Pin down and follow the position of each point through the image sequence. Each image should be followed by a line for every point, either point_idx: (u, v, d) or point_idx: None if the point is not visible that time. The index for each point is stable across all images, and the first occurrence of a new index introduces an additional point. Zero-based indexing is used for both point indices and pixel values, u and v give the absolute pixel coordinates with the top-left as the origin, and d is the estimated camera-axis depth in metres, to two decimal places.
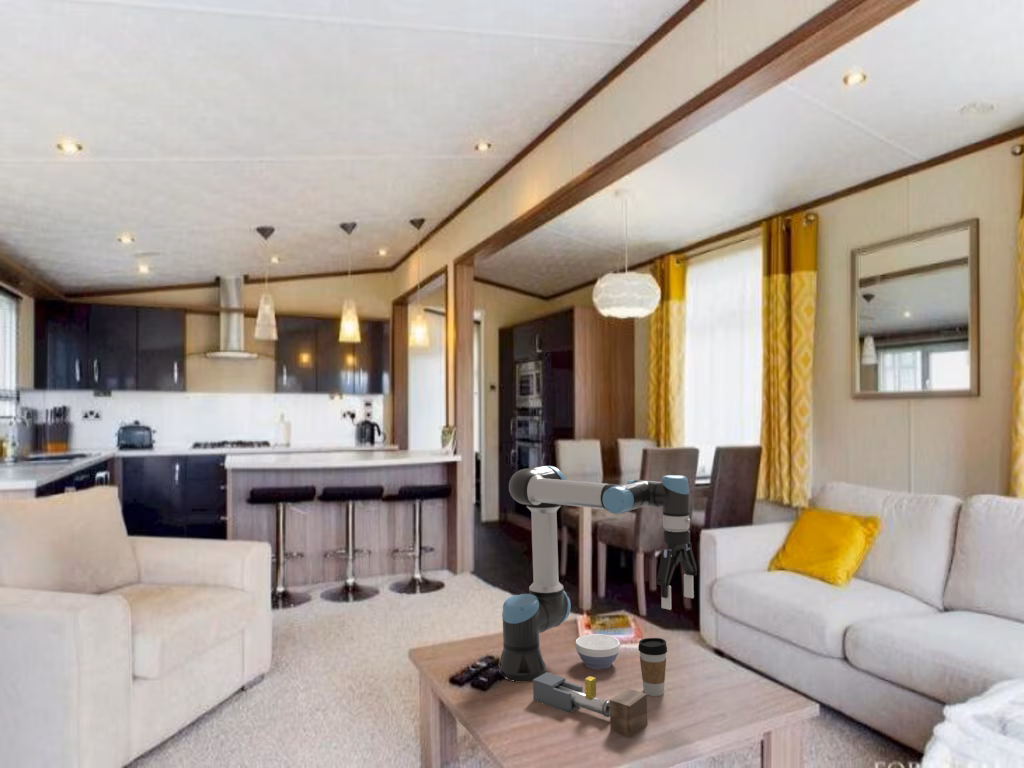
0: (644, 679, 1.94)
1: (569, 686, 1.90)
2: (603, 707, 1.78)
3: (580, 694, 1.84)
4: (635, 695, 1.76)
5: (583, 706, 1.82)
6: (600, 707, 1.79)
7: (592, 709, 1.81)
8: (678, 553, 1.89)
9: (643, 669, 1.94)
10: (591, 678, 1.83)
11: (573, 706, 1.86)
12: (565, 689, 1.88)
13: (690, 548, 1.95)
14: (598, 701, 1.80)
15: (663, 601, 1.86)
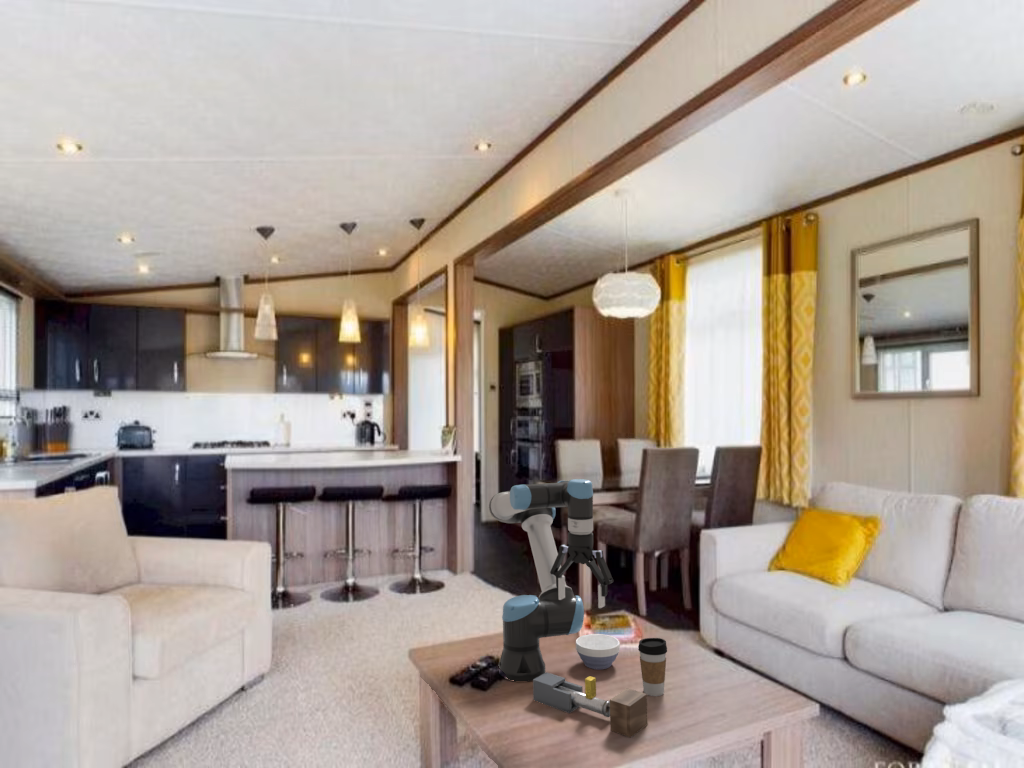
0: (644, 679, 1.94)
1: (569, 686, 1.90)
2: (603, 707, 1.78)
3: (580, 694, 1.84)
4: (635, 695, 1.76)
5: (583, 706, 1.82)
6: (600, 707, 1.79)
7: (592, 709, 1.81)
8: (572, 553, 1.97)
9: (643, 669, 1.94)
10: (591, 678, 1.83)
11: (573, 706, 1.86)
12: (565, 689, 1.88)
13: (597, 557, 1.93)
14: (598, 701, 1.80)
15: None
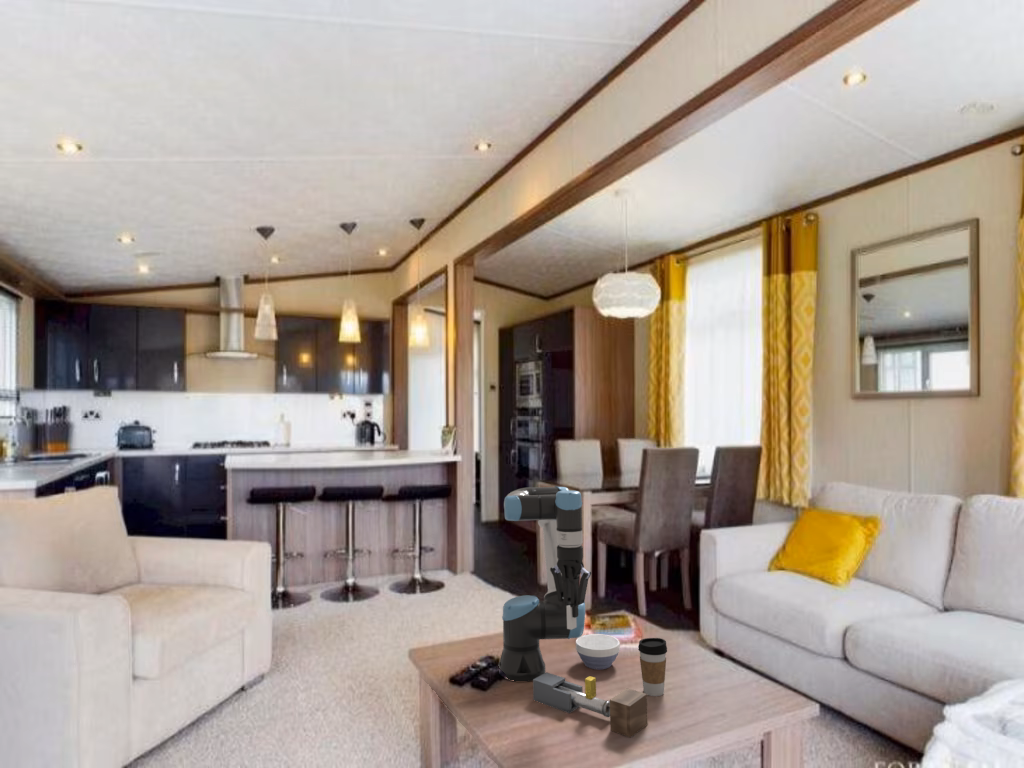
0: (644, 679, 1.94)
1: (569, 686, 1.90)
2: (603, 707, 1.78)
3: (580, 694, 1.84)
4: (635, 695, 1.76)
5: (583, 706, 1.82)
6: (600, 707, 1.79)
7: (592, 709, 1.81)
8: None
9: (643, 669, 1.94)
10: (591, 678, 1.83)
11: (573, 706, 1.86)
12: (565, 689, 1.88)
13: (582, 577, 1.86)
14: (598, 701, 1.80)
15: None
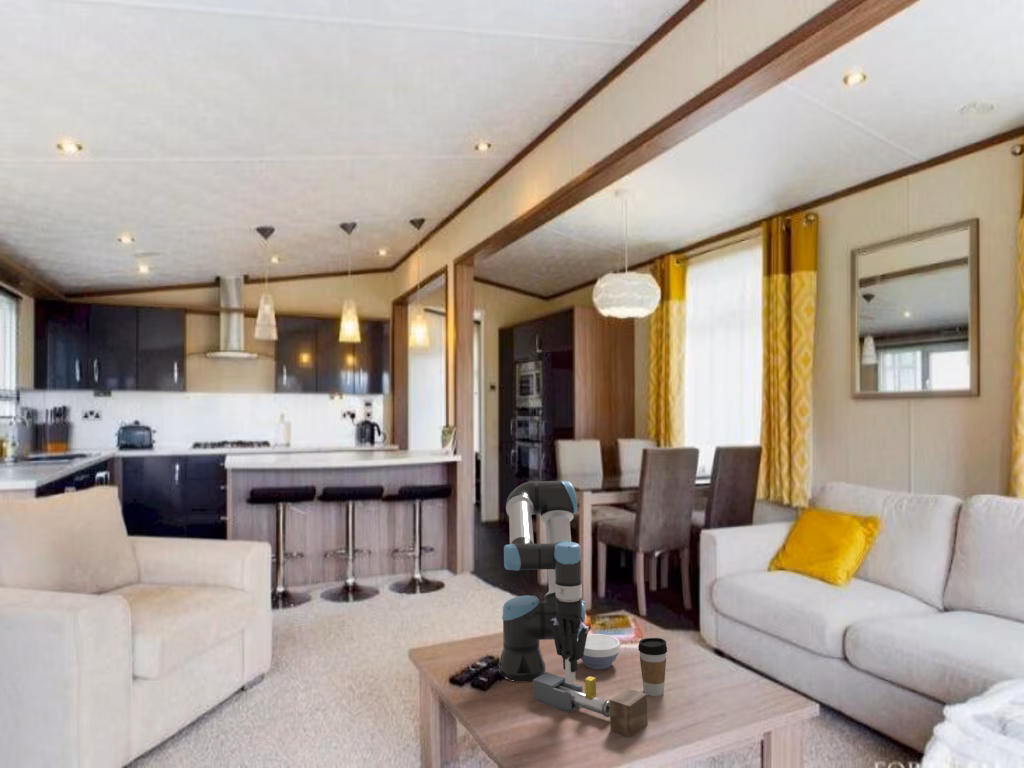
0: (644, 679, 1.94)
1: (569, 686, 1.90)
2: (603, 707, 1.78)
3: (580, 694, 1.84)
4: (635, 695, 1.76)
5: (583, 706, 1.82)
6: (600, 707, 1.79)
7: (592, 709, 1.81)
8: None
9: (643, 669, 1.94)
10: (591, 678, 1.83)
11: (573, 706, 1.86)
12: (565, 689, 1.88)
13: (581, 632, 1.83)
14: (598, 701, 1.80)
15: None
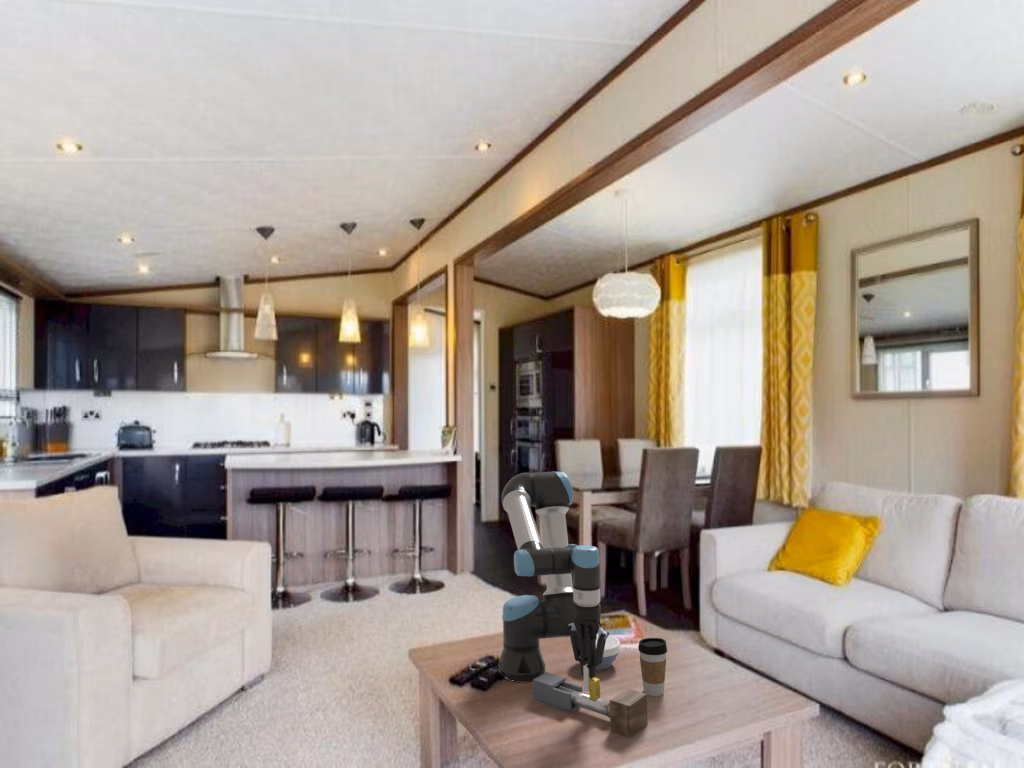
0: (644, 679, 1.94)
1: (569, 686, 1.90)
2: (607, 708, 1.77)
3: (584, 695, 1.84)
4: (635, 695, 1.76)
5: (587, 707, 1.82)
6: (604, 708, 1.78)
7: (596, 710, 1.80)
8: None
9: (643, 669, 1.94)
10: (595, 679, 1.82)
11: (573, 706, 1.86)
12: (569, 690, 1.87)
13: (600, 638, 1.79)
14: (602, 702, 1.79)
15: None
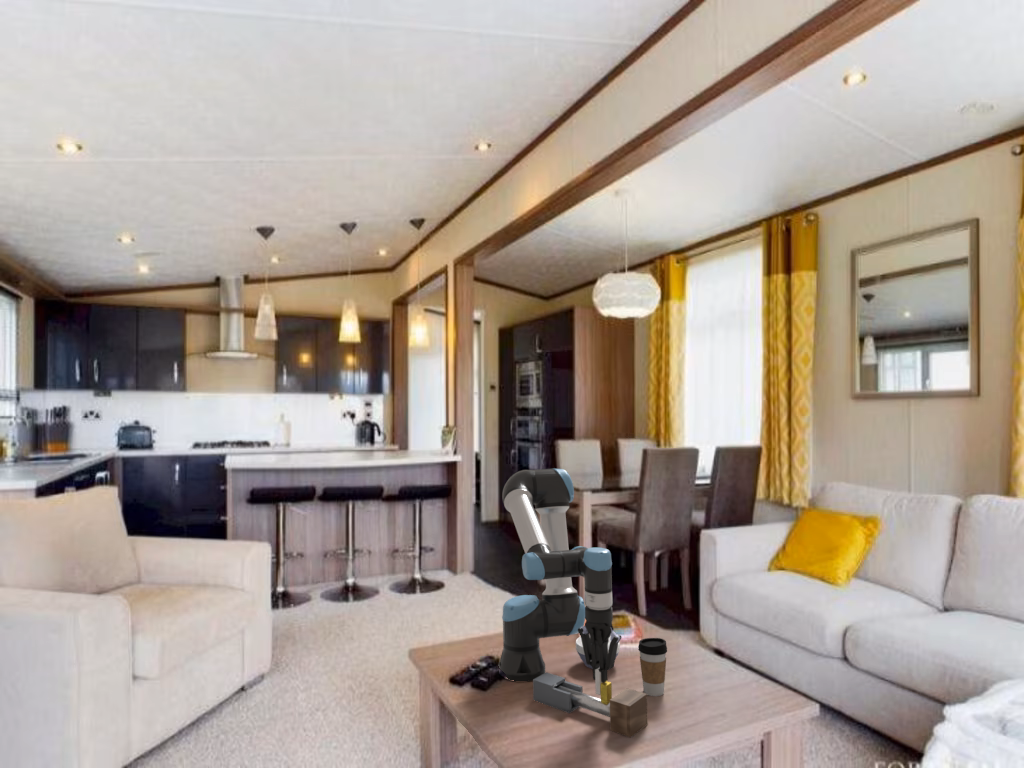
0: (644, 679, 1.94)
1: (569, 686, 1.90)
2: None
3: (595, 699, 1.81)
4: (635, 695, 1.76)
5: (599, 711, 1.79)
6: None
7: (608, 714, 1.77)
8: None
9: (643, 669, 1.94)
10: (607, 683, 1.80)
11: (573, 706, 1.86)
12: (580, 694, 1.85)
13: (612, 641, 1.77)
14: None
15: None
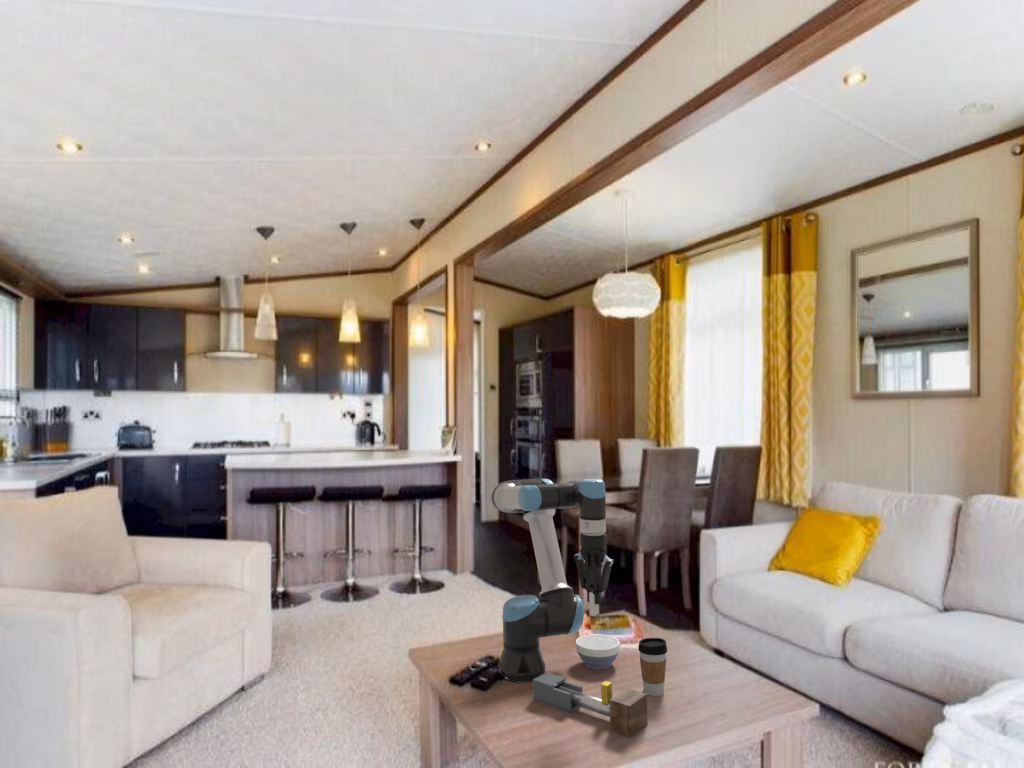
0: (644, 679, 1.94)
1: (569, 686, 1.90)
2: None
3: (596, 699, 1.81)
4: (635, 695, 1.76)
5: (599, 711, 1.79)
6: None
7: (608, 715, 1.77)
8: None
9: (643, 669, 1.94)
10: (607, 683, 1.79)
11: (573, 706, 1.86)
12: (580, 694, 1.84)
13: (605, 565, 1.87)
14: None
15: None
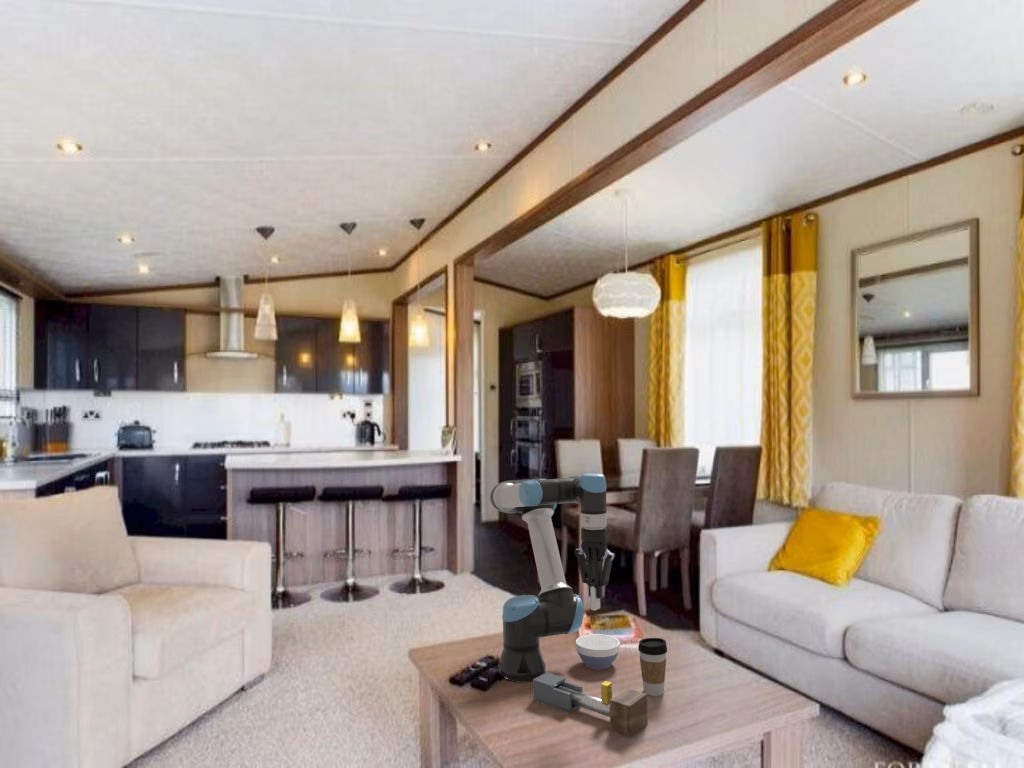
0: (644, 679, 1.94)
1: (569, 686, 1.90)
2: None
3: (596, 699, 1.81)
4: (635, 695, 1.76)
5: (599, 711, 1.79)
6: None
7: (608, 715, 1.77)
8: None
9: (643, 669, 1.94)
10: (607, 683, 1.79)
11: (573, 706, 1.86)
12: (580, 694, 1.84)
13: (606, 559, 1.88)
14: None
15: None
